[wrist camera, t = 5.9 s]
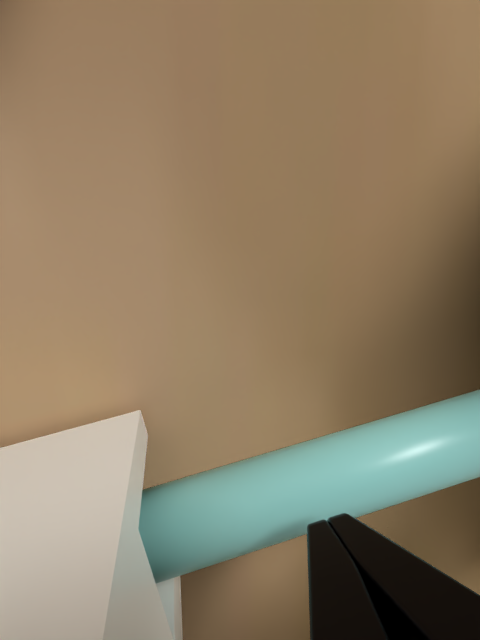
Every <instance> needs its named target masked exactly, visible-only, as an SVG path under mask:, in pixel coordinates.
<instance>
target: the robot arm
mask: <svg viewBox="0 0 480 640" xmlns="http://www.w3.org/2000/svg"><path fill="white" fill-rule="evenodd" d="M307 548H308V580H309V612H310V640H480V595H479V594H477V593H475V592H474V591H472V590H470V589H469V588H467V587H466V586H464V585H462V584H461V583H459V582H458V581H456V580H454V579H453V578H451V577H449V576H448V575H446V574H445V573H443V572H441V571H440V570H438V569H436V568H435V567H433V566H432V565H430V564H428V563H427V562H425V561H424V560H422V559H420V558H419V557H417V556H415V555H414V554H412V553H411V552H409V551H407V550H406V549H404V548H402V547H401V546H399V545H398V544H396V543H394V542H393V541H391V540H390V539H388V538H386V537H385V536H383V535H381V534H380V533H378V532H377V531H375V530H373V529H372V528H370V527H368V526H367V525H365V524H364V523H362V522H360V521H359V520H357V519H356V518H354V517H352V516H351V515H349V514H347V513H342V514H338V515H335V516H332V517H329V518H328V520H324V519H322V520H319V521H316V522H313V523H310V524H308V525H307Z"/></svg>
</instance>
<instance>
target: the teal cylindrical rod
mask: <svg viewBox="0 0 480 640" xmlns="http://www.w3.org/2000/svg"><path fill="white" fill-rule="evenodd" d="M478 477H480V390H476V391H473V392H470V393H466V394H463V395H459V396H456V397H453V398H449V399H446V400H443V401H439V402H436V403H433V404H429V405H426V406H422V407H419V408H416V409H412V410H409V411H406V412H402V413H399V414H396V415H392V416H389V417H386V418H382V419H379V420H375V421H372V422H369V423H365V424H362V425H359V426H355V427H352V428H349V429H345V430H342V431H339V432H335V433H332V434H328V435H325V436H322V437H318V438H315V439H312V440H308V441H305V442H302V443H298V444H295V445H292V446H288V447H285V448H281V449H278V450H275V451H271V452H268V453H265V454H261V455H258V456H255V457H251V458H248V459H245V460H241V461H238V462H234V463H231V464H228V465H224V466H221V467H218V468H214V469H211V470H208V471H204V472H201V473H198V474H194V475H191V476H187V477H184V478H181V479H177V480H174V481H171V482H167V483H164V484H161V485H157V486H154V487H150V488H147V489H144V490H142V498H141V508H140V518H139V527H138V529H139V533H140V536H141V539H142V542H143V545H144V548H145V551H146V555H147V558H148V561H149V564H150V567H151V570H152V573H153V577H154V580H155V583H160V582H163V581H166V580H169V579H172V578H175V577H178V576H181V575H184V574H187V573H190V572H193V571H196V570H199V569H202V568H205V567H208V566H211V565H214V564H217V563H220V562H223V561H226V560H229V559H232V558H235V557H238V556H241V555H244V554H248V553H251V552H254V551H257V550H260V549H263V548H266V547H269V546H272V545H275V544H278V543H281V542H284V541H287V540H290V539H293V538H296V537H299V536H302V535H305V534H307V525H308V524H310V523H313V522H316V521H319V520H322V519H324V520H328V518H329V517H332V516H335V515H338V514H342V513H347V514H349V515H351V516H352V517H354V518H357V517H360V516H363V515H366V514H369V513H372V512H375V511H378V510H381V509H384V508H387V507H390V506H393V505H396V504H399V503H402V502H405V501H408V500H411V499H414V498H417V497H421V496H424V495H427V494H430V493H433V492H436V491H439V490H442V489H445V488H448V487H451V486H454V485H457V484H460V483H463V482H466V481H469V480H472V479H475V478H478Z"/></svg>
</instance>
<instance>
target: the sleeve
mask: <svg viewBox="0 0 480 640" xmlns="http://www.w3.org/2000/svg"><path fill="white" fill-rule="evenodd" d="M147 441H148V434H147V430H146V427H145V423H144V420H143V417H142V413H141V410H138V411H135V412H131V413H127V414H124V415H120V416H116V417H113V418H109V419H105V420H102V421H98V422H94V423H91V424H87V425H83V426H79V427H76V428H72V429H68V430H65V431H61V432H57V433H54V434H50V435H46V436H43V437H39V438H35V439H32V440H28V441H24V442H21V443H17V444H13V445H10V446H6V447H2V448H0V640H183V632H182V605H181V579H180V576H178V577H175V578H172V579H169V580H166V581H163V582H160V583H155V580H154V577H153V573H152V570H151V567H150V564H149V561H148V558H147V555H146V551H145V548H144V545H143V542H142V539H141V536H140V533H139V529H138V527H139V518H140V508H141V498H142V489H143V479H144V470H145V460H146V450H147Z"/></svg>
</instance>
